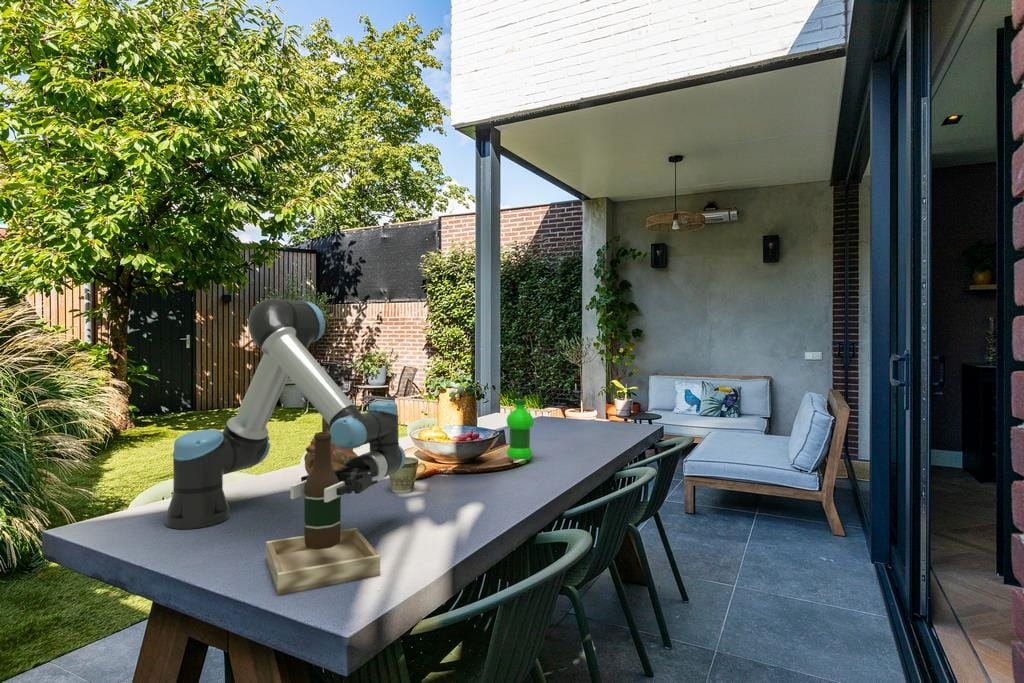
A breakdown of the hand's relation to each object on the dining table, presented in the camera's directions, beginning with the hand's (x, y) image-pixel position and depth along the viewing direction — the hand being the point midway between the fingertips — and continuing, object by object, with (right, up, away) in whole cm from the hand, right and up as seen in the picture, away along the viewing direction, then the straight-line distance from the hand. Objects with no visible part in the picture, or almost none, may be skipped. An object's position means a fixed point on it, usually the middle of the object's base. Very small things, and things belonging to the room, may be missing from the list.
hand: (308, 494), depth 119 cm
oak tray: (+1, -17, +5) cm, 18 cm away
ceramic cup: (+8, -17, +65) cm, 68 cm away
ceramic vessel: (-19, -16, +73) cm, 77 cm away
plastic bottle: (+45, -17, +108) cm, 119 cm away
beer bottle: (+1, -12, +5) cm, 13 cm away
